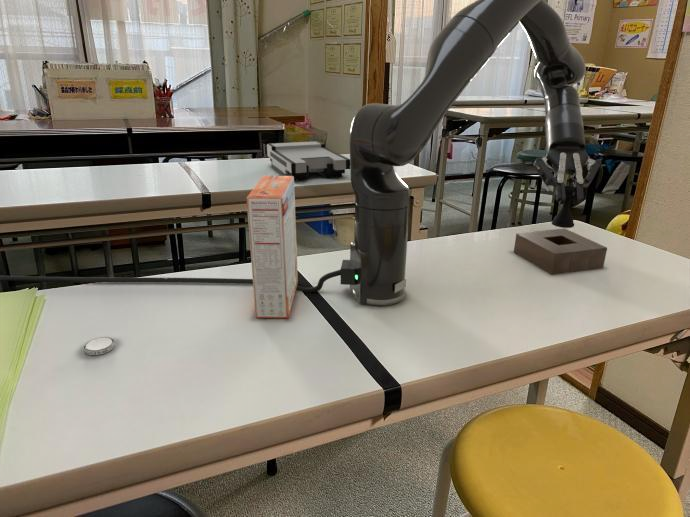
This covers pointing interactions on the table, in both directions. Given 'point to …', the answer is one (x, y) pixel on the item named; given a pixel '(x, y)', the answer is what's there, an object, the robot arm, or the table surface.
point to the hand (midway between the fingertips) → (570, 202)
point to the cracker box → (273, 245)
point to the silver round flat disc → (99, 346)
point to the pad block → (559, 251)
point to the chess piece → (565, 208)
